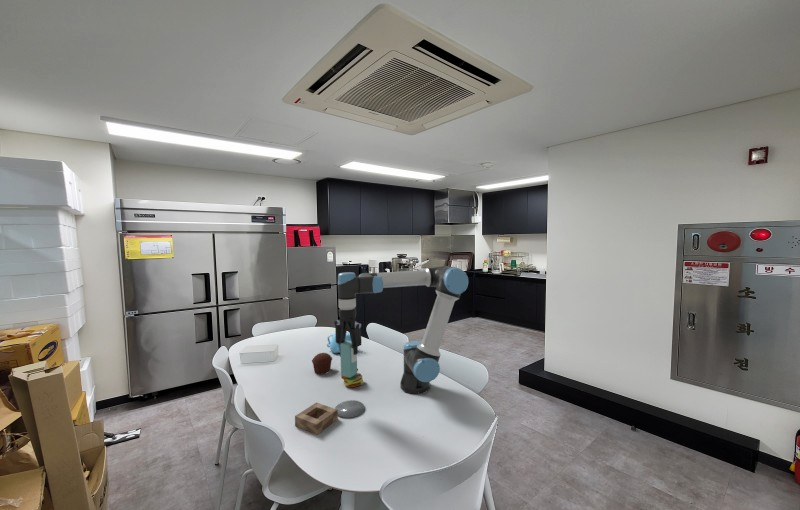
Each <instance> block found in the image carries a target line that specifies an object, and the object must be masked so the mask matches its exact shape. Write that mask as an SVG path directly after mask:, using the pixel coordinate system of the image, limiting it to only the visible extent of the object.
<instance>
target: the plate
mask: <svg viewBox="0 0 800 510" xmlns="http://www.w3.org/2000/svg"><path fill="white" fill-rule="evenodd" d="M334 409H337V410H338V418H342V419H352V418H357V417H359V416H360V415H362V414H363V413H364V411H365V404H364V403H363V402H361V401H359V400H353V399H352V400H351V399H350V400H345V401H341V402H340V403H338V404H337V405H336V406H335V407H334Z"/></svg>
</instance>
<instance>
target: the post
mask: <svg viewBox="0 0 800 510" xmlns="http://www.w3.org/2000/svg"><path fill="white" fill-rule="evenodd" d="M352 347H353V346H352V342H351V341H345V342H343V343H341V344H340V376H345V377H349V378H351V377H352V376H354V375H355V374H357V373H358V371H357V368H358V360H357V361H355V362H353V363H352V362H351V348H352Z"/></svg>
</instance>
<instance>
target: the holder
mask: <svg viewBox="0 0 800 510" xmlns="http://www.w3.org/2000/svg"><path fill="white" fill-rule="evenodd" d="M316 417H317V418H316ZM338 419H339V416H338V410H337V409H335V407H331V406H328V405H325V404H323V403H319V402H318V401H317V402H314V403H313V404H312V405H310V406H309V407H307V408H305V409H304V410H303V411H301V412H299V413H297V414H296V415H294V426H295V427H297V428H300V429H302V430H304V431H307V432H310V433H312V434H314V435H319V434H320V433H321V432H322V431H324V430H325V429H326V428H328V427H329V426H330V425H331V424H333V423H334V422H336V421H337V420H338Z"/></svg>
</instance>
